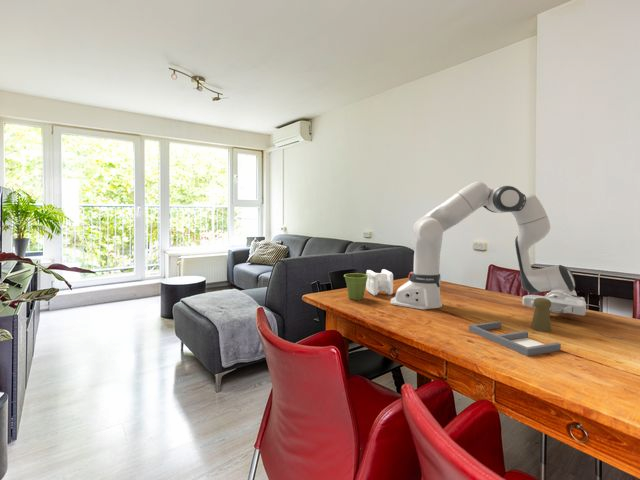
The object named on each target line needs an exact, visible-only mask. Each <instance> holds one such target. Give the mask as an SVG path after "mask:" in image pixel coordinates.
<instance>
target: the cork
mask: <svg viewBox="0 0 640 480" xmlns="http://www.w3.org/2000/svg"><path fill="white" fill-rule="evenodd" d="M534 306H535V308H534V311H533V317H532V320H531V325H530V329H532V330H534V331H537V332H542V333H543V332H544V333H551V332H552V324H551V315H550V312H551V311H549V308H550V307H551V301H550V300H549V299H546V298H536V299H535V300H534Z"/></svg>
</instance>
